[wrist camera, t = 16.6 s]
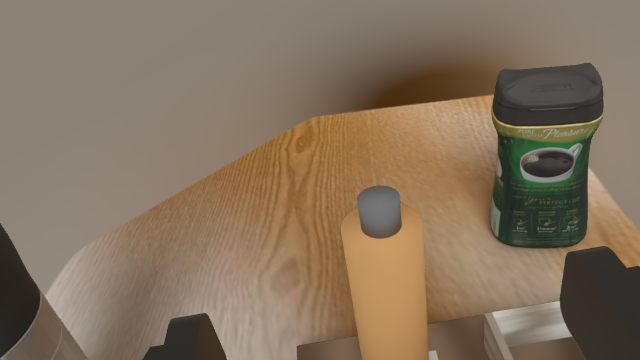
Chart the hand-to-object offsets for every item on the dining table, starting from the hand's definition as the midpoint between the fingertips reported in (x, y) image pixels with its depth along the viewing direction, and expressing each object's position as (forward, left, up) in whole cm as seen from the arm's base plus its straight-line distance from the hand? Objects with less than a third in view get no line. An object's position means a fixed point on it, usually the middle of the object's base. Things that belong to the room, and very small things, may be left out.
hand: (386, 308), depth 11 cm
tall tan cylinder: (-13, +7, -28) cm, 32 cm away
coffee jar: (-22, +32, -30) cm, 49 cm away
